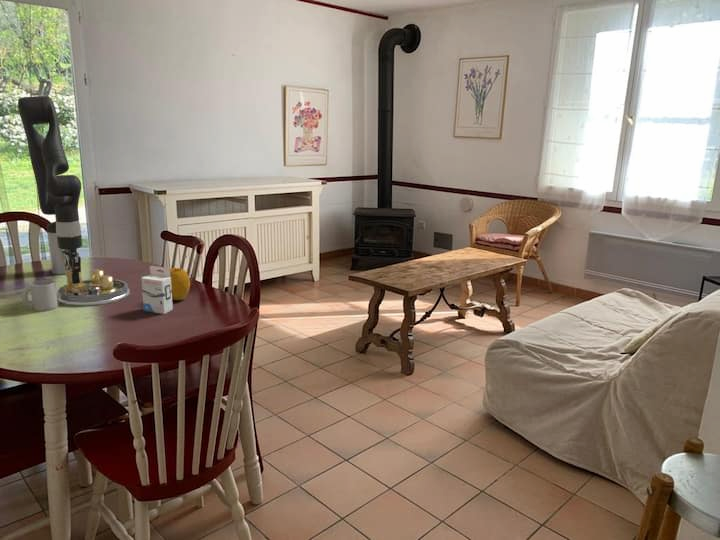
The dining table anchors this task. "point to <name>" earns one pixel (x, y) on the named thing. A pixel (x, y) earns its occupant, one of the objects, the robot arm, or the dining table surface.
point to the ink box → (157, 291)
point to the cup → (41, 295)
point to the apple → (179, 283)
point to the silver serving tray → (96, 291)
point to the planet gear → (73, 287)
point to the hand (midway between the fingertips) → (74, 281)
